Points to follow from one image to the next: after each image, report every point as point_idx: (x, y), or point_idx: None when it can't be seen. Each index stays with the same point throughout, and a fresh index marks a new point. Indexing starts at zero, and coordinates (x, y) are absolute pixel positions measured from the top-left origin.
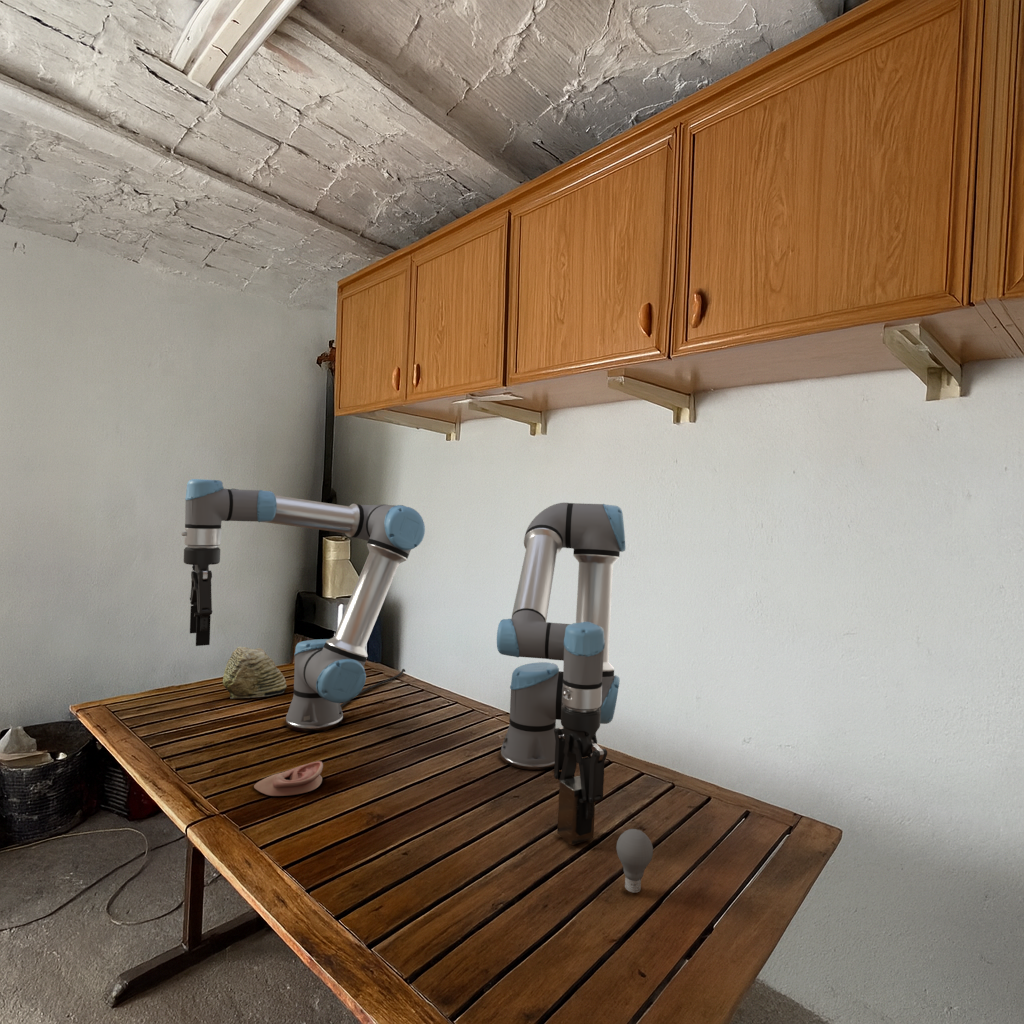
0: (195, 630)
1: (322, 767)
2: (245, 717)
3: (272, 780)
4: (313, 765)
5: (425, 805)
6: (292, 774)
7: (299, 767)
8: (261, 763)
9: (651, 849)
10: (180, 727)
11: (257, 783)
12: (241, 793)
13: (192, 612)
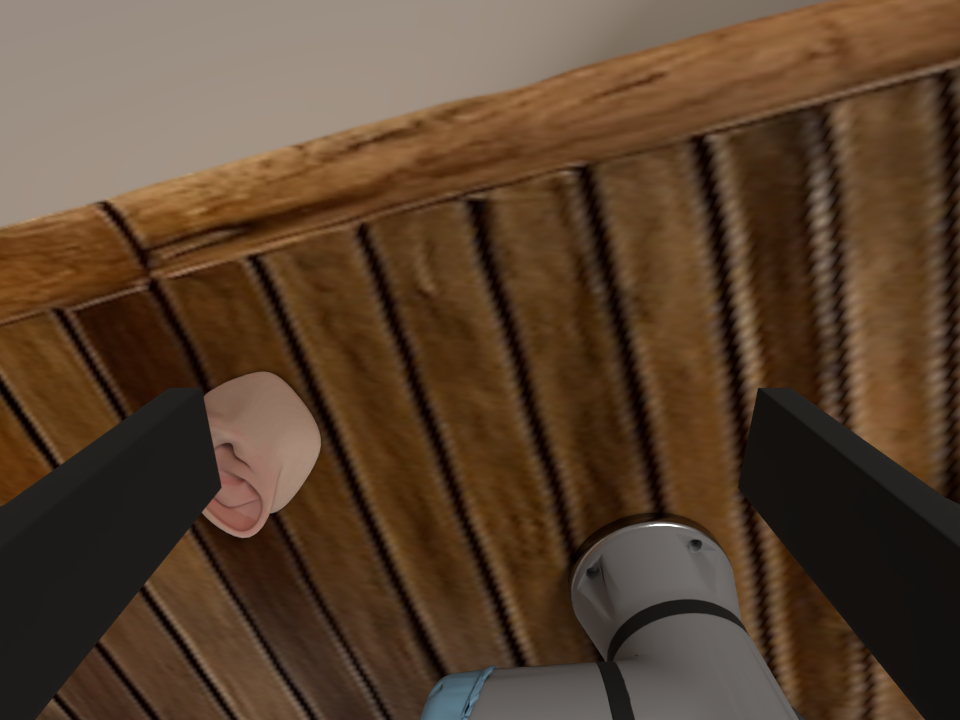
0: (761, 445)
1: (224, 530)
2: None
3: (231, 416)
4: (260, 515)
5: None
6: (243, 463)
7: (256, 486)
8: (420, 411)
9: None
10: (838, 240)
11: (264, 382)
12: (249, 339)
13: (925, 549)
